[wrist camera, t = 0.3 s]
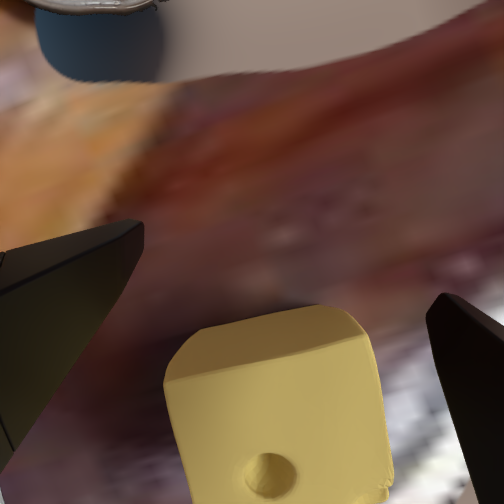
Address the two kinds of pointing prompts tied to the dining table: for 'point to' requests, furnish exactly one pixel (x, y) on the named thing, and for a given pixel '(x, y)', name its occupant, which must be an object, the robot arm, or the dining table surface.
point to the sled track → (1, 498)
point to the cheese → (281, 411)
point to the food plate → (92, 6)
